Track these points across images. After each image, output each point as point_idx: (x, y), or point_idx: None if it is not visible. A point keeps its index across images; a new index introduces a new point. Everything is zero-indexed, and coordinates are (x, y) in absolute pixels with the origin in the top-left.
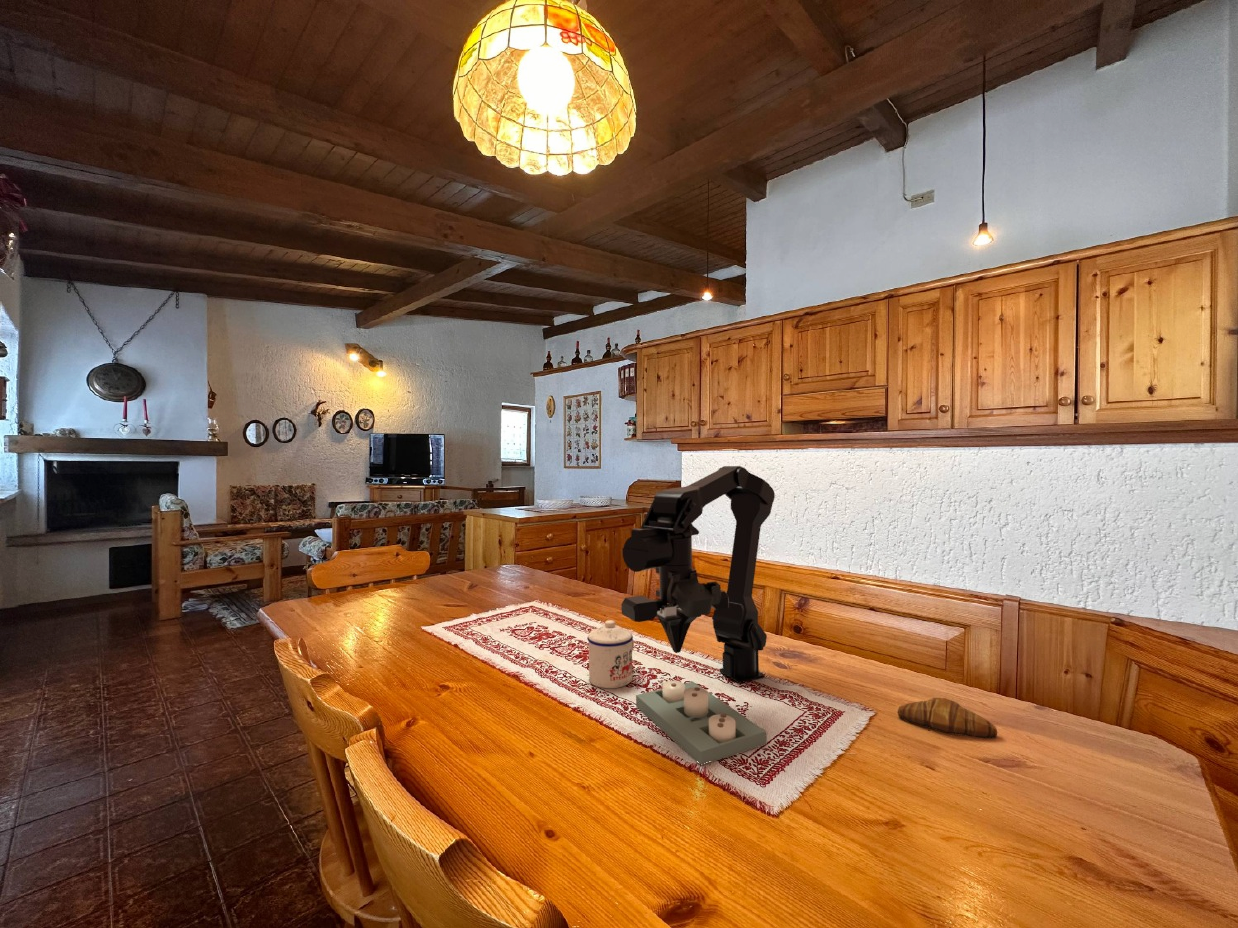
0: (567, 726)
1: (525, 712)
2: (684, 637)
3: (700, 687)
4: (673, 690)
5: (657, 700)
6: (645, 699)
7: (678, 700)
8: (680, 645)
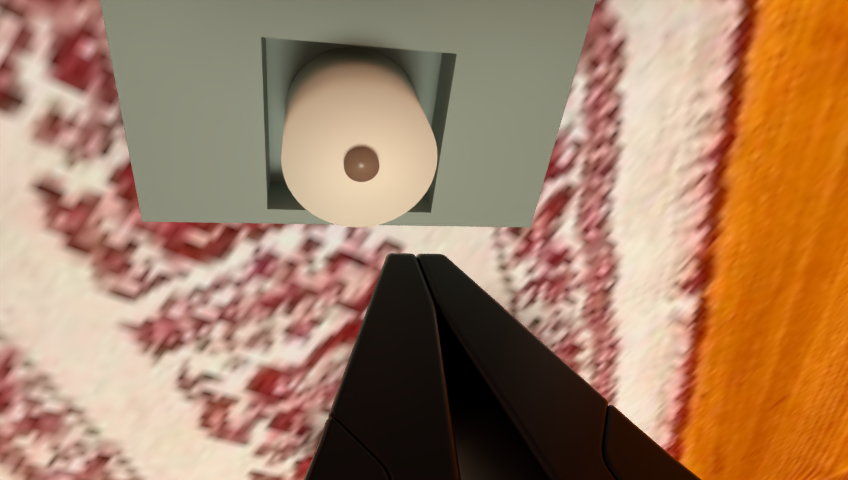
0: (821, 185)
1: (817, 323)
2: (368, 368)
3: (133, 132)
4: (409, 102)
5: (484, 123)
6: (526, 166)
7: (371, 65)
8: (410, 296)
